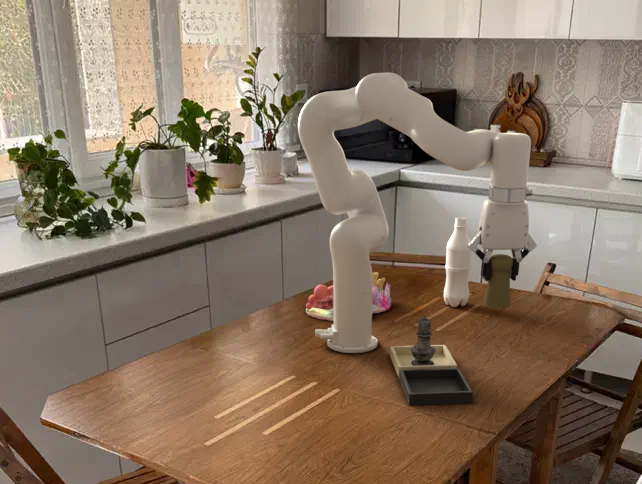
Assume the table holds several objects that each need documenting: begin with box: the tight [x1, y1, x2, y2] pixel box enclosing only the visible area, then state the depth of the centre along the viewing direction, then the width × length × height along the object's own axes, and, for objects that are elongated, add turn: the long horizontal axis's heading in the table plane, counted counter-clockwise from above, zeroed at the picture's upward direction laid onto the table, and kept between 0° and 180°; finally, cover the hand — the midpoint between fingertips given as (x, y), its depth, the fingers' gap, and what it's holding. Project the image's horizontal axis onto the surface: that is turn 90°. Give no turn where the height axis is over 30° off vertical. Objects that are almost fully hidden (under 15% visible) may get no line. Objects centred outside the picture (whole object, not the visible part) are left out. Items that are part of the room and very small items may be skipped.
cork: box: [482, 253, 513, 309], centre depth 171 cm, size 6×6×11 cm
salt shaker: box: [411, 314, 436, 366], centre depth 181 cm, size 6×6×12 cm
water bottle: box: [443, 216, 472, 308], centre depth 221 cm, size 7×7×25 cm
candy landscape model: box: [305, 271, 392, 322], centre depth 222 cm, size 25×24×9 cm
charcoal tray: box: [398, 367, 474, 406], centre depth 169 cm, size 13×13×2 cm
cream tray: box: [389, 344, 458, 378], centre depth 183 cm, size 13×13×2 cm
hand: (499, 278), depth 171 cm, fingers closed on cork, 5 cm apart
